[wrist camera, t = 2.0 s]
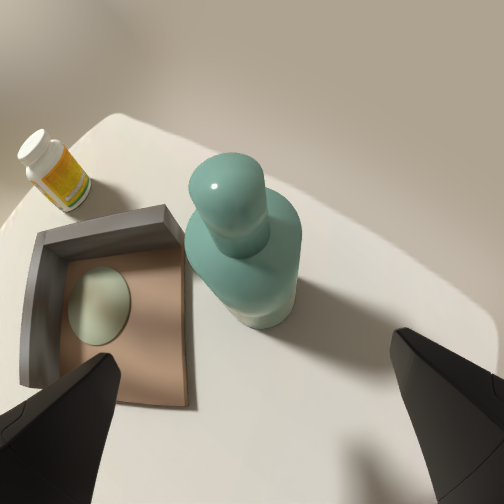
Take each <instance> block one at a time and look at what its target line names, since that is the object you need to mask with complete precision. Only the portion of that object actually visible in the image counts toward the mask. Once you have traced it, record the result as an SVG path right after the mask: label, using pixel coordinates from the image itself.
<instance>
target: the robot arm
mask: <svg viewBox="0 0 504 504" xmlns="http://www.w3.org/2000/svg"><path fill="white" fill-rule="evenodd" d="M390 357H391V361H392V364H393V367H394V371H395V374H396V378H397V381H398V385H399V389H400V392H401V396H402V398H403V401H404V404H405V406H406V409H407V411H408V414H409V417H410V419H411V422H412V425H413V427H414V430H415V433H416V436H417V438H418V441H419V444H420V447H421V450H422V453H423V456H424V459H425V462H426V465H427V468H428V471H429V475H430V478H431V481H432V485H433V488H434V492H435V495H436V499H437V501H438V502H437V503H438V504H504V379H502V378H500V377H498V376H496V375H494V374H491V373H490V372H489V371H487V370H485V369H483V368H481V367H480V366H478V365H476V364H474V363H472V362H470V361H469V360H467V359H465V358H463V357H461V356H459V355H458V354H456V353H454V352H452V351H450V350H448V349H446V348H445V347H443V346H441V345H439V344H437V343H435V342H434V341H432V340H430V339H428V338H426V337H424V336H422V335H421V334H419V333H417V332H415V331H413V330H411V329H409V328H407V327H404V328H399V329H396V330H395V331H394V332H393V336H392V342H391V347H390ZM120 380H121V371H120V368H119V367H118V365H117V363H116V361H115V359H114V357H113V355H112V354H111V353H105V352H100V353H98V354H97V355H95V356H94V357H92V358H90V359H89V360H87V361H86V362H84V363H83V364H81V365H80V366H78V367H77V368H75V369H73V370H72V371H70V372H69V373H67V374H66V375H64V376H63V377H61V378H60V379H58V380H56V381H55V382H53V383H52V384H50V385H49V386H47V387H46V388H44V389H42V390H41V391H39V392H38V393H36V394H35V395H33V396H32V397H30V398H28V399H27V400H25V401H24V402H22V403H21V404H19V405H17V406H16V407H14V408H13V409H11V410H9V411H7V412H6V413H4V414H2V415H0V504H91V501H92V496H93V491H94V487H95V482H96V478H97V473H98V469H99V465H100V461H101V457H102V453H103V450H104V446H105V442H106V439H107V435H108V431H109V428H110V425H111V421H112V418H113V414H114V410H115V405H116V400H117V395H118V390H119V385H120Z"/></svg>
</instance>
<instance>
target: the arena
mask: <svg viewBox="0 0 504 504" xmlns="http://www.w3.org/2000/svg"><path fill="white" fill-rule="evenodd" d="M184 239H185V233H184V232H183V230H182V229H181V228H180V226H179V225H178V223H177V222H176V220H175V219H174V217H173V216H172V214H171V213H170V211H169V210H168V208H167V207H166V205H165V204H163V205H157V206H152V207H147V208H142V209H137V210H132V211H127V212H122V213H117V214H113V215H108V216H103V217H99V218H95V219H90V220H86V221H82V222H78V223H73V224H69V225H65V226H61V227H57V228H54V229H50V230H46V231H42V232H39V233H37V237H36V241H35V245H34V249H33V253H32V258H31V262H30V267H29V272H28V278H27V284H26V290H25V297H24V304H23V313H22V323H21V335H20V360H19V375H20V385H22V386H25V387H29V388H37V389H44V388H46V387H47V386H49V385H50V384H52V383H53V382H55V381H56V380H58V379H60V378H61V377H63V376H64V375H66V374H67V373H69V372H70V371H72V370H73V369H75V368H77V367H78V366H80V365H81V364H83V363H84V362H86V361H87V360H89V359H90V358H92V357H94V356H95V355H97V354H98V353H100V352H105V353H111V354H112V355H113V357H114V359H115V361H116V363H117V365H118V367H119V368H120V371H121V380H120V385H119V390H118V395H117V400H116V401H124V402H132V403H141V404H153V405H167V406H188V391H187V374H186V353H185V316H184V269H185V242H184Z"/></svg>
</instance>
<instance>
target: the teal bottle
mask: <svg viewBox="0 0 504 504" xmlns="http://www.w3.org/2000/svg"><path fill="white" fill-rule="evenodd" d="M189 194H190V197H191V199H192V201H193V203H194V204H195V206H196V208H197V209H196V210H195V211H194V213H193V214H192V216H191V218H190V220H189V222H188V225H187V228H186V232H185V239H184V242H185V251H186V255H187V258H188V260H189V262H190V264H191V266H192V267H193V269H194V270H195V272H196V273H197V274H198V275H199V276H200V277H201V279H202V280H203V281H204V282H205V283H206V284H207V286H208V287H209V288H210V289H211V290H212V291H213V293H214V294H215V295H216V296H217V297H218V298H219V299H220V301H221V302H222V303H223V304H224V305H225V306H226V307H227V308H228V310H229V311H230V312H231V313H232V314H233V315H234V316H235V317H236V318H237V319H238V320H239V321H240V322H241V323H243V324H244V325H246V326H248V327H251V328H256V329H266V328H270V327H273V326H276V325H278V324H279V323H281V322H282V321H283V320H285V319H286V317H287V316H288V315H289V314H290V312H291V310H292V308H293V305H294V301H295V294H296V286H297V277H298V269H299V260H300V251H301V241H302V228H301V222H300V219H299V216H298V214H297V212H296V210H295V209H294V207H293V206H292V204H291V203H290V202H289V201H288V200H287V199H286V198H285V197H283V196H282V195H281V194H279V193H277V192H276V191H274V190H271V189H269V188H266V187H265V181H264V174H263V170H262V168H261V166H260V165H259V164H258V162H257V161H255V160H254V159H253V158H251V157H250V156H247V155H244V154H240V153H223V154H219V155H216V156H213V157H211V158H209V159H207V160H206V161H204V162H203V163H201V164H200V165H199V166H198V167H197V168H196V169H195V171H194V172H193V174H192V176H191V178H190V181H189Z"/></svg>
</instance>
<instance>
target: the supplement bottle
mask: <svg viewBox="0 0 504 504" xmlns="http://www.w3.org/2000/svg"><path fill="white" fill-rule="evenodd" d="M18 159H19V160H20V161H21V162H22V164H23V165H25V166H27V168H26V174H27V177H28V179H29V180H30V181H31V182H32V183H33V184H34V185H35V186H36V187H37V188H38V189H39V190H40V191H41V192H42V193H43V194H44V195H45V196H46V197H47V198H48V199H49V200H50V201H51V202H52V203H53V204H54V205H55V206H56V207H58V208H59V209H60V210H61V211H65V212H67V211H71V210H73V209H75V208H76V207H78V206H79V205H80V204H81V203H82V202H83V201H84V200H85V198H86V197H87V195H88V193H89V191H90V187H91V181H90V178H89V176H88V175H87V174H86V173H85V171H84V170H83V169H82V168H81V166H80V165H79V164H78V163H77V161H76V160H75V159H74V158H73V156H72V155H71V154H70V152H69V151H68V150H67V149H66V147H65V146H64V144H62V142H60V141H59V140H50V136H49V135H48V134H47V132H46V131H45V130H44V129H40V130H38V131H36V132H35V133H34V134H33V135H31V136H30V137H29V138H28V139H27V140H26V141H25V143H24V144H23V145H22V147H21V149H20V150H19V153H18Z"/></svg>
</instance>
